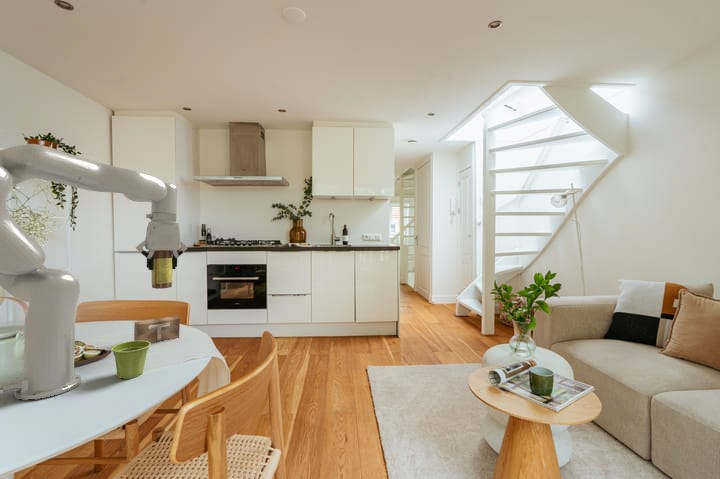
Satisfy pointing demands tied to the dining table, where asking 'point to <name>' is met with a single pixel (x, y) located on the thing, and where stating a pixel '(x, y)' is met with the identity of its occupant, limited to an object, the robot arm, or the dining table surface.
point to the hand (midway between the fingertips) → (162, 268)
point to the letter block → (157, 329)
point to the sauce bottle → (162, 269)
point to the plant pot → (130, 358)
